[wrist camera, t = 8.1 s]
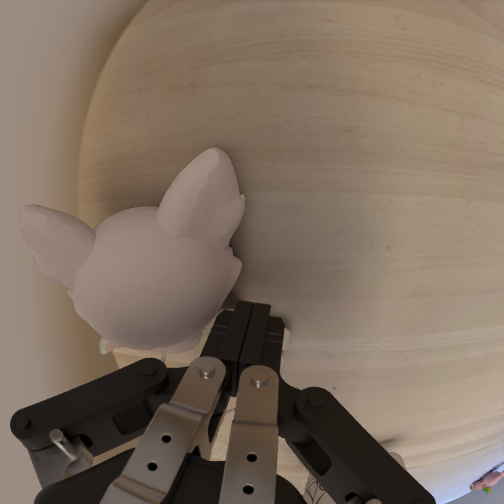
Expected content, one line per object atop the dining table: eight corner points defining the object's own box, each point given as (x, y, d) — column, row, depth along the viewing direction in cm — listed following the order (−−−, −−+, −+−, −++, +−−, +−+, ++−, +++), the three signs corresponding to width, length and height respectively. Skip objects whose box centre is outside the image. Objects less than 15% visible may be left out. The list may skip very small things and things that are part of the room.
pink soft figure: (482, 476, 38) (515, 459, 29) (484, 494, 33) (518, 481, 24) (464, 482, 39) (496, 467, 30) (465, 502, 34) (498, 490, 25)
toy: (266, 295, 22) (220, 98, 11) (308, 384, 17) (303, 186, 6) (128, 344, 21) (1, 199, 10) (143, 435, 16) (-51, 332, 5)
